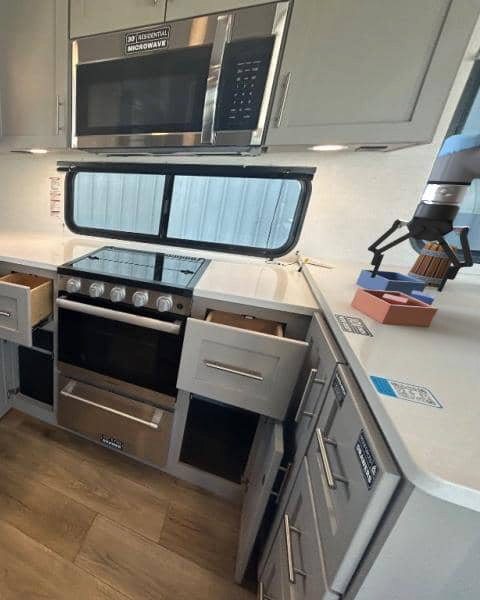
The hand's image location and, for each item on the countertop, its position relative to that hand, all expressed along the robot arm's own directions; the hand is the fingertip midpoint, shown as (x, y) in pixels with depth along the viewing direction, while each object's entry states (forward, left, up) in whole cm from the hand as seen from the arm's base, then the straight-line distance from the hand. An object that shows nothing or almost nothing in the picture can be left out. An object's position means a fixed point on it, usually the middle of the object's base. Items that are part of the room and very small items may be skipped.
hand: (404, 283), depth 90 cm
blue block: (+7, -14, -10) cm, 18 cm away
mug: (+40, -45, -10) cm, 61 cm away
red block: (0, 0, -9) cm, 10 cm away
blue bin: (+24, -18, -10) cm, 31 cm away
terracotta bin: (0, 0, -10) cm, 10 cm away
